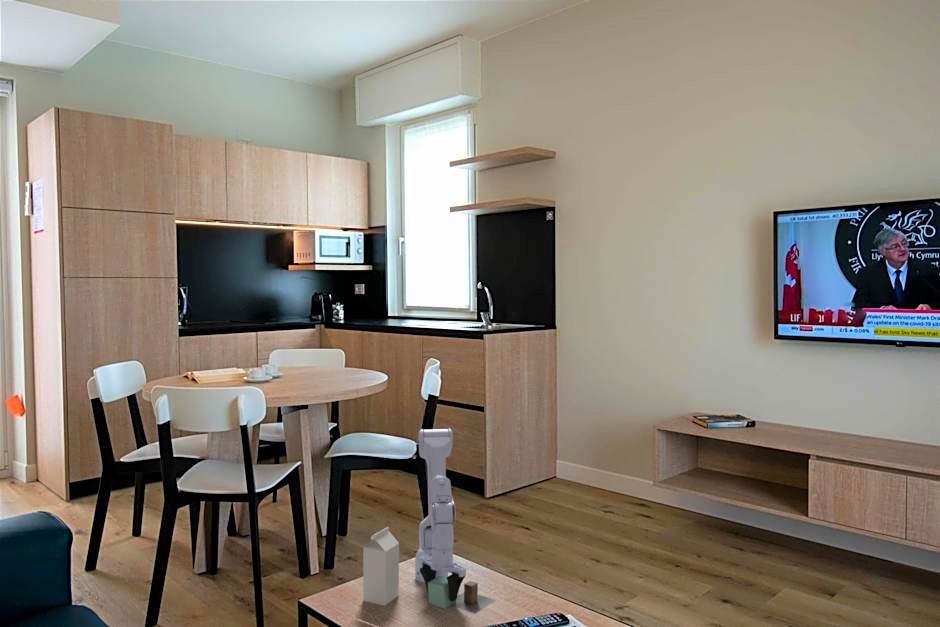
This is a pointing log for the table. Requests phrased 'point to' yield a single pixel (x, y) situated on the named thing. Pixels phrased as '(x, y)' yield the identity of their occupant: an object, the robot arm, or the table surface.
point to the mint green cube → (439, 592)
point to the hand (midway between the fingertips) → (442, 596)
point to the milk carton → (381, 568)
